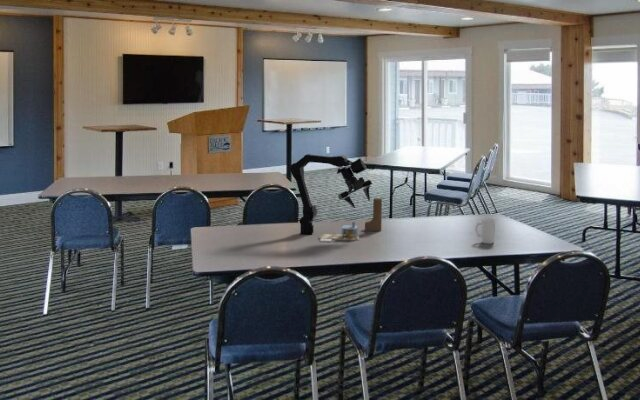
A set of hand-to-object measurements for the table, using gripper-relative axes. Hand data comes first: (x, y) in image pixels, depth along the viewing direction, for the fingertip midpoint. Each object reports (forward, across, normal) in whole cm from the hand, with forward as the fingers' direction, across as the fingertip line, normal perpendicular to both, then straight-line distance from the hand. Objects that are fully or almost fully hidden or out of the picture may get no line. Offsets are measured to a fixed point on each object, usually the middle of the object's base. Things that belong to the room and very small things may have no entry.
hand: (362, 204), depth 384 cm
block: (+13, -13, +4) cm, 19 cm away
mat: (+9, -26, +1) cm, 28 cm away
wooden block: (+17, +6, +21) cm, 27 cm away
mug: (+45, +43, -23) cm, 67 cm away
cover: (+12, -13, +4) cm, 18 cm away
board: (+11, -18, +6) cm, 22 cm away
